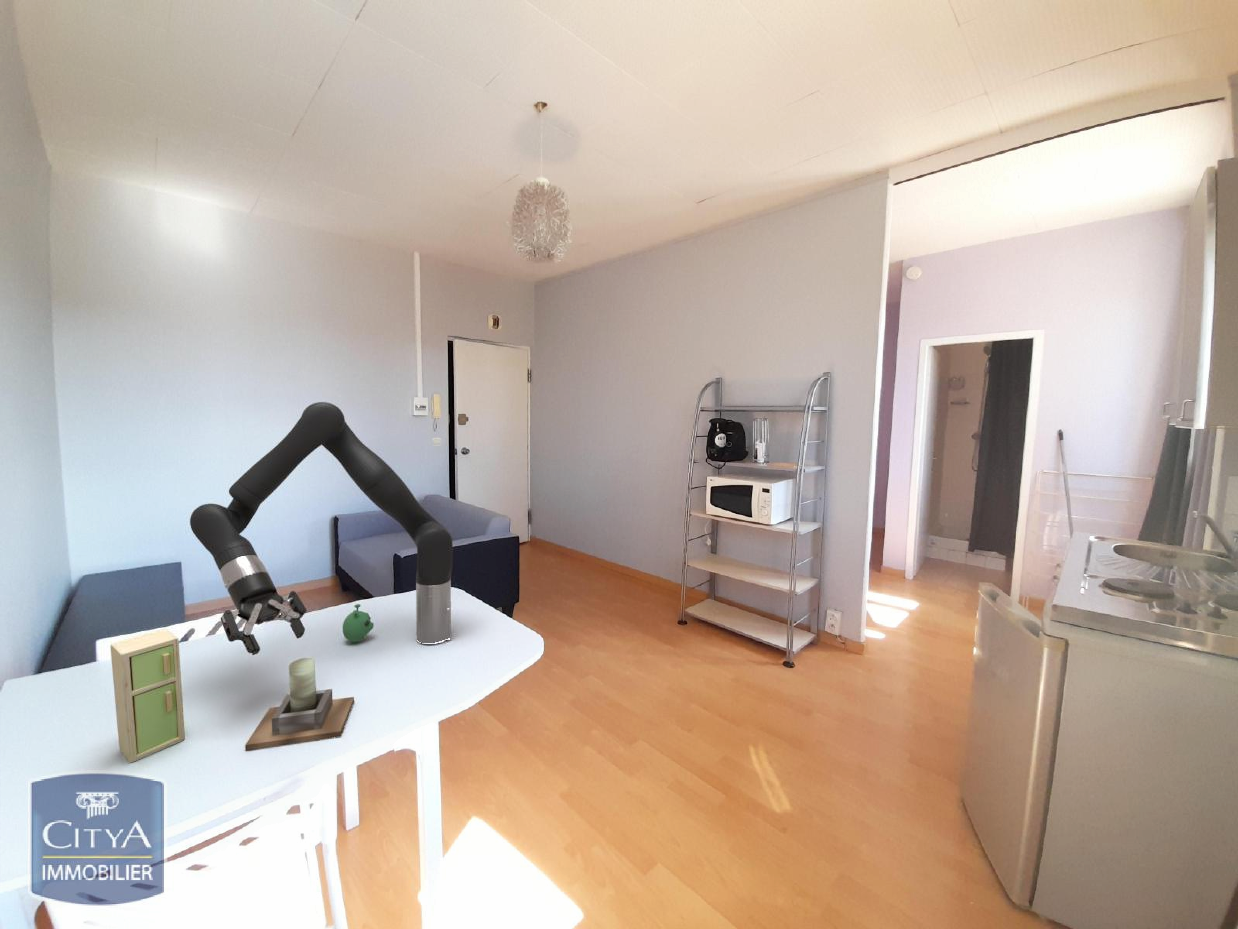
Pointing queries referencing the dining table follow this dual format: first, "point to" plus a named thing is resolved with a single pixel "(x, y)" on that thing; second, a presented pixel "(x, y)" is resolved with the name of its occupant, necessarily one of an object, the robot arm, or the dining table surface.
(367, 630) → the alien toy
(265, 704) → the dining table surface
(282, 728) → the jig
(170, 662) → the toy refrigerator
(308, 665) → the pale green cylinder
